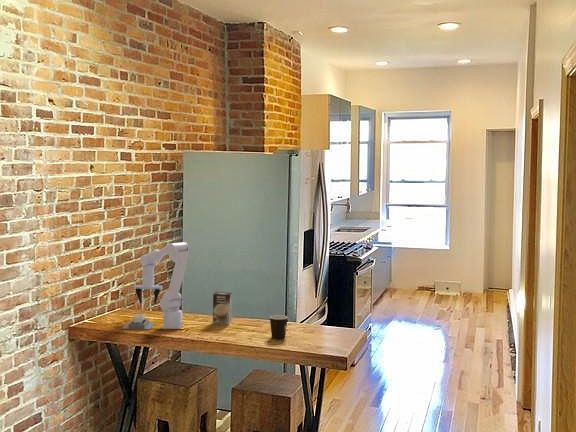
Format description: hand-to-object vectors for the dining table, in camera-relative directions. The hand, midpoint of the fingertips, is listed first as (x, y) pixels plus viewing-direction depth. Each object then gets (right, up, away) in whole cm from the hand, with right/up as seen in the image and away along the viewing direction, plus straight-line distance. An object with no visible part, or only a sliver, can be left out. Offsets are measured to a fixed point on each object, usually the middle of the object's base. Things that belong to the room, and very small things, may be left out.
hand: (148, 303), depth 343 cm
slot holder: (-2, -10, -11) cm, 15 cm away
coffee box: (+39, -11, -1) cm, 40 cm away
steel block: (-2, -10, -11) cm, 15 cm away
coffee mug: (+68, -13, -28) cm, 75 cm away
